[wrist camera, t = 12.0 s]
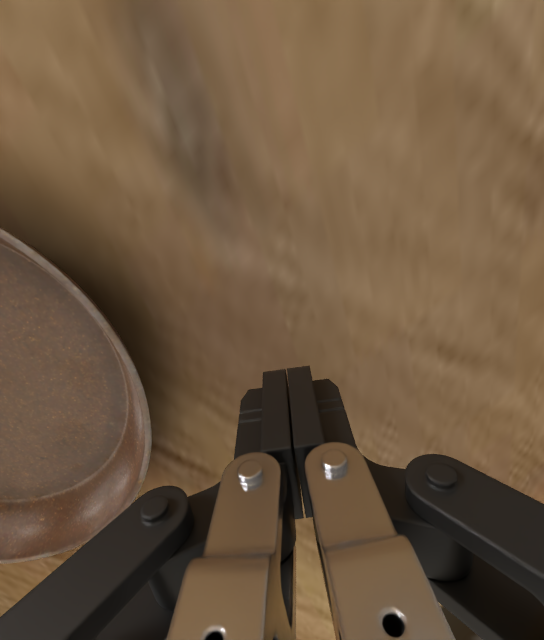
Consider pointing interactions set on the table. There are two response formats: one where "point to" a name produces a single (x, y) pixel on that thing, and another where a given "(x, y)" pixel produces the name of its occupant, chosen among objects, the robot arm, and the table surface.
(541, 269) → the table surface
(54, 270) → the plant saucer
